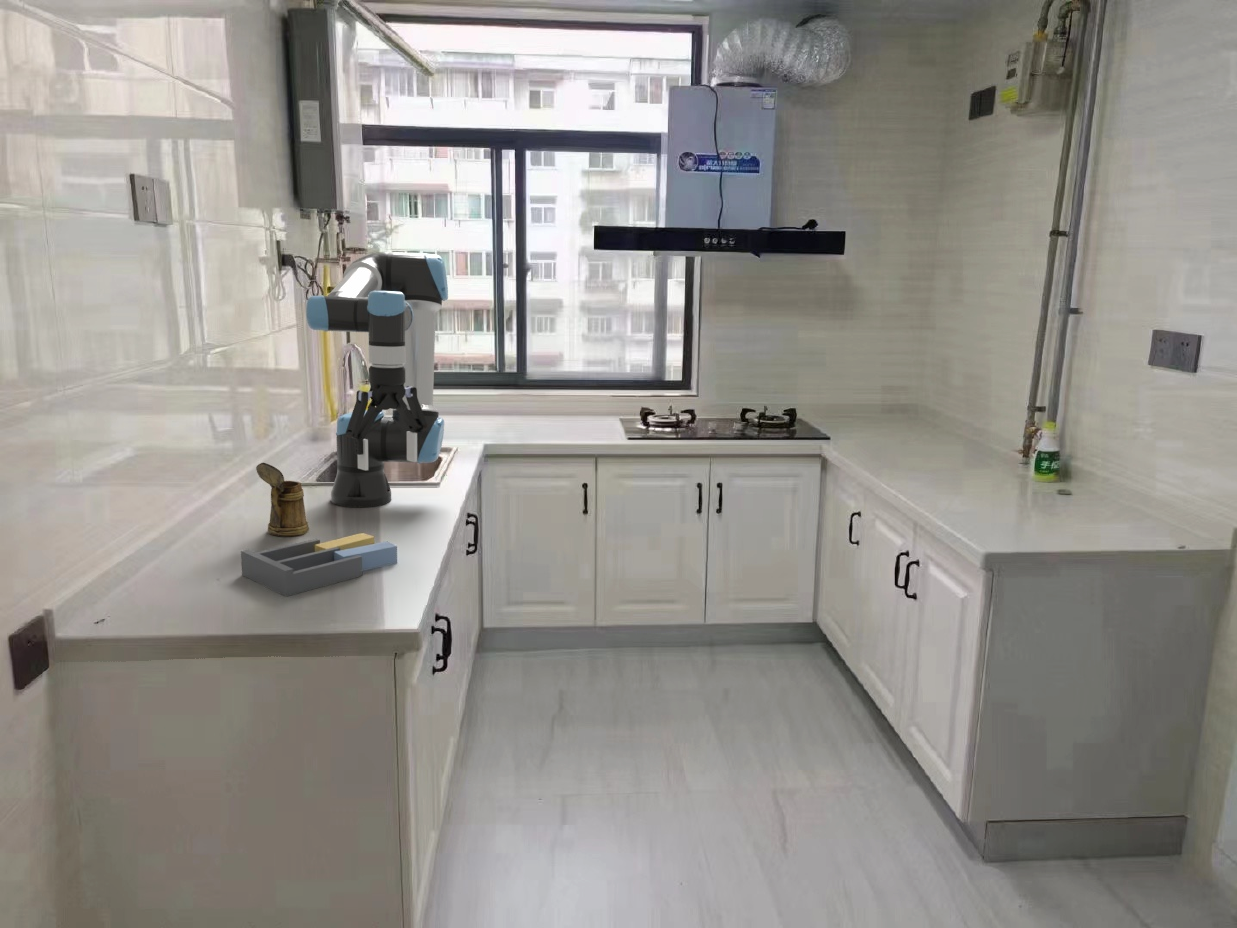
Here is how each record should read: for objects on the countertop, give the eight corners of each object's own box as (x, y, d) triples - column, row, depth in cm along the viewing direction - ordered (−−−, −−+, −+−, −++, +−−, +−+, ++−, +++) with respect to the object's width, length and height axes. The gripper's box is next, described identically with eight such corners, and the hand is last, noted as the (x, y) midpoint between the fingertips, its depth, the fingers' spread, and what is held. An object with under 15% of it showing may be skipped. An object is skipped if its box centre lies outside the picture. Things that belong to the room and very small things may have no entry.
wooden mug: (247, 540, 199) (243, 460, 195) (282, 524, 212) (279, 449, 208) (283, 544, 197) (280, 464, 193) (316, 527, 210) (314, 452, 206)
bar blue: (387, 559, 191) (387, 541, 190) (397, 564, 189) (397, 546, 188) (334, 570, 183) (334, 551, 182) (343, 575, 180) (343, 556, 180)
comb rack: (316, 556, 190) (316, 534, 189) (362, 575, 180) (361, 551, 179) (242, 575, 177) (240, 550, 176) (286, 596, 168) (285, 570, 166)
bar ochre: (362, 550, 196) (362, 532, 195) (374, 554, 194) (374, 536, 193) (315, 563, 187) (314, 544, 186) (327, 567, 185) (326, 549, 184)
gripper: (422, 360, 202) (422, 454, 206) (326, 366, 183) (328, 469, 188) (443, 364, 197) (443, 460, 202) (347, 370, 179) (349, 476, 183)
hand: (388, 465), depth 195 cm, fingers open, 12 cm apart
